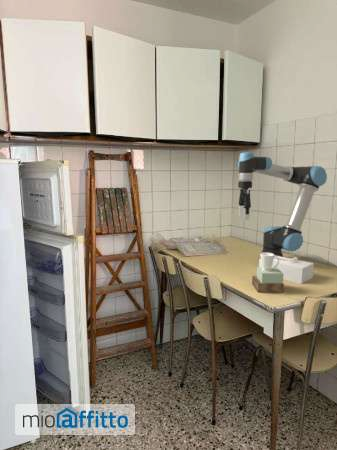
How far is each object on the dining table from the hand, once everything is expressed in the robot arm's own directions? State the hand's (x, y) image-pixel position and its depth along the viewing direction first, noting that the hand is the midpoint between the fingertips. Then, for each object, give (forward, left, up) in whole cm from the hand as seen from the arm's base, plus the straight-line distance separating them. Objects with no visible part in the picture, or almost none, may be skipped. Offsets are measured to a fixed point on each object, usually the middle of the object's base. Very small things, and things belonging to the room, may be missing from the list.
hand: (243, 218), depth 175 cm
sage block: (-8, +27, -27) cm, 39 cm away
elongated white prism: (-23, +5, -32) cm, 40 cm away
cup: (-8, +26, -22) cm, 35 cm away
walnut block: (-7, +26, -32) cm, 42 cm away
